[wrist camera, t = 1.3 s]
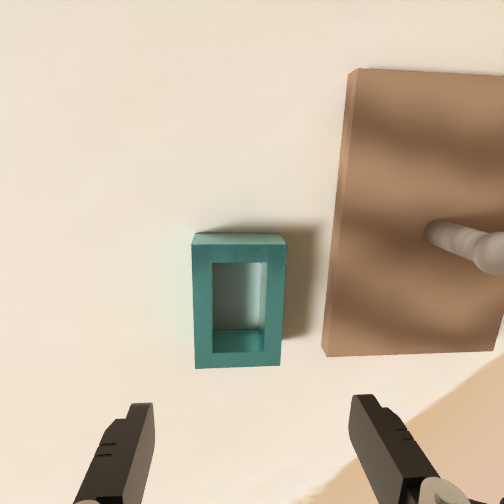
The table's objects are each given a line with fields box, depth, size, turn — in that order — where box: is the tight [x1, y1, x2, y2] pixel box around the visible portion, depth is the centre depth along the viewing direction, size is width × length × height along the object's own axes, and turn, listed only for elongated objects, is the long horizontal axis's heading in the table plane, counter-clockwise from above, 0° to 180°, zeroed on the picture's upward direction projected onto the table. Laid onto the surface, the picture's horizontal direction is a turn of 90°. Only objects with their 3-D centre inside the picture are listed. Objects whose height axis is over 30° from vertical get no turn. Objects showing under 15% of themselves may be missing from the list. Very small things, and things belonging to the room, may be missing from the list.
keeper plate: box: [321, 68, 504, 357], centre depth 20 cm, size 20×14×8 cm
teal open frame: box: [191, 233, 287, 369], centre depth 23 cm, size 9×6×3 cm, turn 179°
